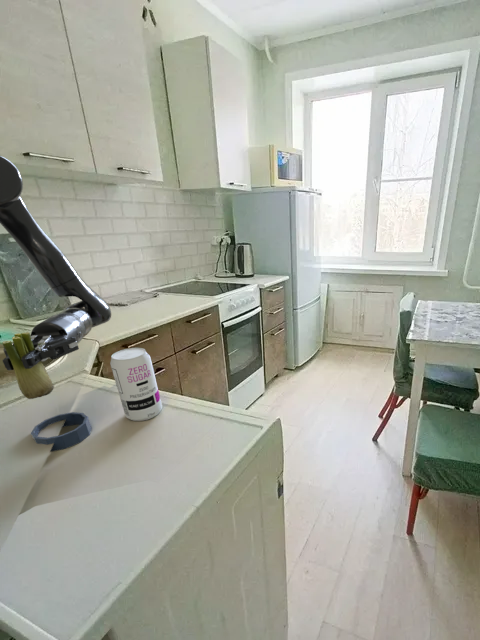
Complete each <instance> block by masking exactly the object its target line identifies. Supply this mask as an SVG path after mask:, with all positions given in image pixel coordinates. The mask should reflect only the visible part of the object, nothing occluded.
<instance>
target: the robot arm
mask: <svg viewBox="0 0 480 640" xmlns="http://www.w3.org/2000/svg"><path fill="white" fill-rule="evenodd" d="M23 181H24V180H23V177H22V175H21V172H20V171H19V169H18V167H16V165H15V164H14V163H13V162H12V161H11V160H9V159H7V157H4V156H2V155H0V225H1V226H2V227H3V229H5V230H6V231H7V233H8V234H9V235H10V237H11V238H12V239H13V240H14V241H15V243H16V244H17V245H18V246H19V248H20V249H21V250H22V252H23V253H24V254H25V256H26V257H27V259H28V260H29V261H30V263H31V264H32V265H33V267H34V268H35V269H36V271H37V272H38V274H39V275H40V276H41V277H42V279H43V280H44V281H45V283H46V284H47V285H48V287H49V288H50V289H51V290H52V292H53V294H55V295H56V296H57V297H60V298H69V297H70V298H71V297H74V298H77V299H78V300H79V301H77V302H75V303H72V304H70V305H68V306H65V307H64V308H63V310H62V311H60V312H59V313H57V314H53V315H51V316H50V317H48V318H46V319H44V320H43V321H40V322H39V323H37V324H36V325H35V326H33V328H32V330H31V332H30V336H31V339H32V343H33V346H34V348H35V350H32V351H30V352H29V353H27V354H26V355H24V356H23V357H22V358H21V360H22V362H23V365H24V367H25V369H30V368H32V367H33V366H35V365H36V364H37V363H39V362H42V363H43V362H46V361H47V360H49V359H50V360H57V359H59V358H61V357H64V356H66V355H68V354H71V353H73V352H75V351H78V350H79V349H80V348H79V343H81V341H82V340H83V339H84V338H85V337H86V336H87V335H88V334H89V333H90V332H91V331H92V329H94V328H95V327H98V326H101V325H103V324H106V323H108V322H110V320H111V319H112V309H111V307H110V305H109V304H108V303H107V301H106V300H105V299H104V298H103V297H102V296H101V295H100V294H99V293H97V292H96V291H95V290H94V289H93V288H92V287H91V286H90V285H88V284H87V283H86V282H85V281H84V280H83V279H82V278H81V276H80V274H79V273H78V271H77V270H76V269H75V267H74V266H73V264H72V263H71V262H70V260H69V259H68V257H67V256H66V255H65V253H64V252H63V251H62V249H60V248H59V246H58V245H57V244H56V243H55V242H54V241H53V240H52V239H51V238H50V236H48V235H47V233H46V232H45V231H44V230H43V229H42V228H41V226H40V225H39V224H38V222H37V221H36V220H35V218H34V216H33V215H32V214H31V212H30V211H29V210H28V207H27V206H26V204H25V202H24V200H23V199H22V193H23V189H24V182H23ZM12 344H13V346H14V343H13V342H12ZM14 348H15V347H14ZM3 353H4V355H5V358H3V359H2V363H3V366H4V369H6V370H7V371H14V368H13V366H12V363H11V361H10V358H9V356H8V354H7V352H6V350H5V348H4V347H3Z"/></svg>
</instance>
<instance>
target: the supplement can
mask: <svg viewBox="0 0 480 640" xmlns="http://www.w3.org/2000/svg"><path fill="white" fill-rule="evenodd" d="M109 364H110V369H111V372H112V375H113V379H114V382H115V385H116V389H117V392H118V395H119V398H120V402H121V405H122V409H123V412H124V415H125V418H127V419H128V420H131V421H134V422H143V421H148V420H150V419H152V418H154V417H157V416H158V414H160V412H161V411H162V409H163V403H162V400H161V395H160V392H159V388H158V387H159V386H158V383H157V379H156V375H155V370H154V366H153V362H152V358H151V355H150V354H149V353H148V352H147V350H146V349H145V348H142V347H131V348H130V347H129V348H125V349H121V350H119V351H115V352H114V353H113V354H112V355H111V359H110V361H109Z"/></svg>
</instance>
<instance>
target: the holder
mask: <svg viewBox="0 0 480 640" xmlns="http://www.w3.org/2000/svg"><path fill="white" fill-rule="evenodd" d="M60 421H64V422H63V424H62V426H61V428H65V427H70V426H77V427H76V428H74V429H73V430H70V431H67V432H65V433H63V434H60V435H54V436H49V437H45V436H38V435H39V434H40V432H41V431H43V430H44V429H46V428H47V427H49V426H51V425H53V424H55V423H58V422H60ZM92 429H93V428H92V425H91V422H90V419H89V416H87V414H85V413H84V412H75V411H71V412H65V413H59V414H57V415H54V416H51V417H49V418H46V419H44V420H42V421H41V422H40V423H38V424H36V425H34V427H33V429H32V430H31V431H30V435H31V438H32V439H33V441H34V442H35V443H36V444H40V445H52V446H51V448H50V450H49V453H51V452H55V451H56V452H57V451H61V450H66V449H69V448H71V447H74V446H75V445H77V444H78V445H79V444H80V443H82V442H83V441H84V440H86V438H88V437H89V436H90V435H91V432H92Z"/></svg>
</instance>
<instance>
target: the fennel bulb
mask: <svg viewBox="0 0 480 640" xmlns="http://www.w3.org/2000/svg"><path fill="white" fill-rule="evenodd" d="M11 339H12V341H11V340H3V341H2V346H3V349H4V348H5V350H6V352H7V354H8V356H9V358H10V361H11V363H12V366H13V368H14V370H13V371H14V375H15V378H16V382H17V385H18V388H19V391H20V392H21V394H22V395H23V396H24V398H25V399H27V400H33V399H38V398H42V397H45V396H47V395H50V394H51V393H52V392H53V391H54V389H55V386H54V384H53V382H52V379H51V378H50V375H49V374H48V372H47V369H46V367H45V366H44V363H43V362H39V363H37V364H36V365H35V366H33V367H32V368H30V369H25V367H24V365H23V362H22V360H21V358H22V357H23V356H24V355H26V354H27V353H29V352H30V351H32V350H35V348H34V346H33V343H32V339H31V332H28V331H26V332H18V333H14V334H13V336H12V338H11ZM12 343H14V346H13V344H12ZM14 347H15V348H14Z"/></svg>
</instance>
